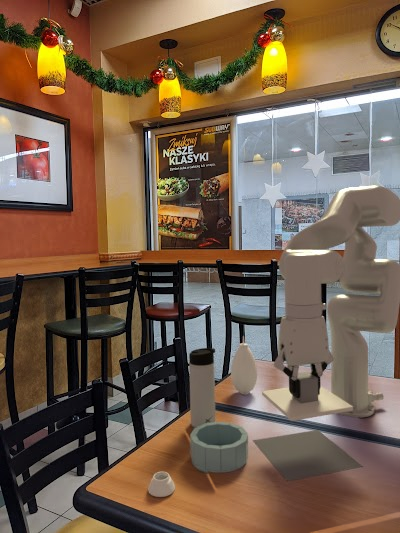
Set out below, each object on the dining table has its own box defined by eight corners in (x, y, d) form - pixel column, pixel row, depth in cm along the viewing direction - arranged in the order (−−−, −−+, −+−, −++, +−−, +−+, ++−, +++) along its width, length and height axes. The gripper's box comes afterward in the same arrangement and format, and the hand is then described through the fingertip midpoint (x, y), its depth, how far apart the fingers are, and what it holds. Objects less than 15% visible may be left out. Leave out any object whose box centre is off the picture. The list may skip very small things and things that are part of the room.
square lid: (316, 386, 98) (316, 362, 97) (353, 410, 84) (352, 382, 84) (262, 394, 94) (261, 370, 94) (291, 421, 81) (290, 392, 80)
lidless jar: (180, 491, 78) (165, 480, 82) (179, 476, 78) (164, 465, 81) (157, 502, 75) (143, 490, 79) (157, 486, 74) (143, 475, 78)
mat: (317, 432, 100) (317, 429, 100) (363, 469, 83) (363, 466, 83) (252, 442, 95) (252, 440, 95) (286, 484, 79) (286, 481, 79)
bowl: (236, 442, 96) (235, 419, 96) (256, 469, 84) (256, 443, 84) (186, 450, 93) (185, 426, 92) (200, 479, 81) (199, 452, 81)
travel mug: (214, 433, 101) (212, 352, 99) (188, 431, 102) (186, 351, 101) (218, 422, 107) (217, 346, 105) (193, 420, 108) (191, 345, 107)
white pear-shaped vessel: (261, 391, 127) (260, 334, 126) (250, 400, 121) (249, 339, 120) (238, 387, 132) (237, 331, 131) (227, 395, 125) (225, 336, 124)
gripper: (328, 304, 93) (329, 383, 95) (259, 311, 89) (262, 393, 91) (348, 310, 86) (349, 395, 88) (274, 318, 82) (277, 407, 83)
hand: (304, 393), depth 89 cm, fingers closed on square lid, 4 cm apart
